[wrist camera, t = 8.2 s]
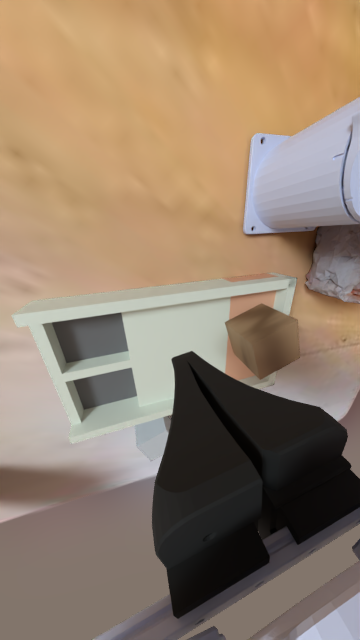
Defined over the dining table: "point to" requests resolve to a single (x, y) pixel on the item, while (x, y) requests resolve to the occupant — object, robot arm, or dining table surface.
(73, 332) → the tray
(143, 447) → the grey block
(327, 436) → the robot arm
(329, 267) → the grey-brown rough block
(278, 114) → the dining table surface
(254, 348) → the walnut block
